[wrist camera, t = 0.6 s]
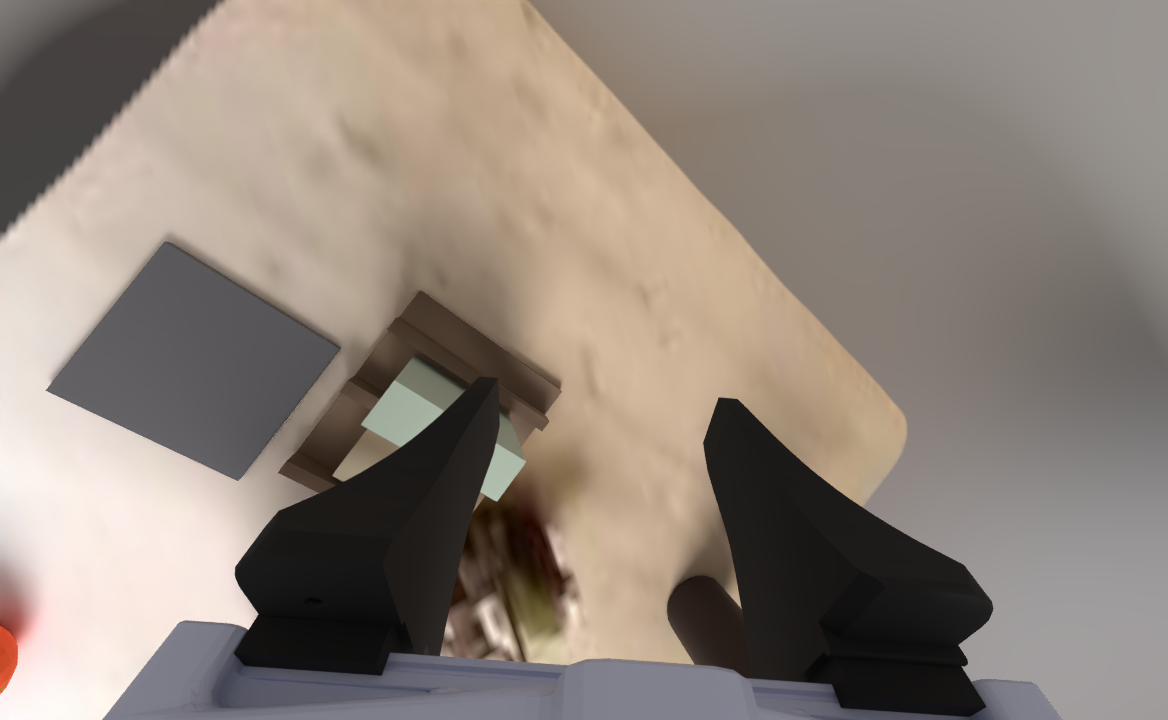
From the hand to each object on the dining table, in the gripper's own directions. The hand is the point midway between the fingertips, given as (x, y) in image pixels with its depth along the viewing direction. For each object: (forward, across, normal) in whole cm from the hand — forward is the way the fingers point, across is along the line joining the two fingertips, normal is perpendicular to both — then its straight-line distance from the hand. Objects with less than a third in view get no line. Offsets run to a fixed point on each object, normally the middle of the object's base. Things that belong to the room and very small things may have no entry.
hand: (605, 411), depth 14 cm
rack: (+15, +12, +15) cm, 24 cm away
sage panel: (+15, +11, +13) cm, 23 cm away
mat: (+13, +27, +10) cm, 31 cm away
